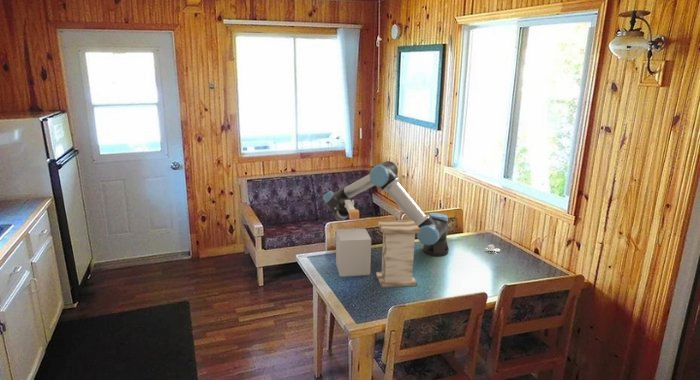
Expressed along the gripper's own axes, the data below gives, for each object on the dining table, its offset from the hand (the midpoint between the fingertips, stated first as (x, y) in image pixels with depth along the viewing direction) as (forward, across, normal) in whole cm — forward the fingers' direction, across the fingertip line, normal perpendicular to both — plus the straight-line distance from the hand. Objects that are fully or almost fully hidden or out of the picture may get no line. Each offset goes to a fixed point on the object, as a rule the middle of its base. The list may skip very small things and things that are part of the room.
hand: (349, 202), depth 244 cm
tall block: (-7, 0, -35) cm, 36 cm away
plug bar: (+1, 0, -6) cm, 6 cm away
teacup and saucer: (-16, -87, -30) cm, 94 cm away
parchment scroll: (+6, -20, -43) cm, 48 cm away
